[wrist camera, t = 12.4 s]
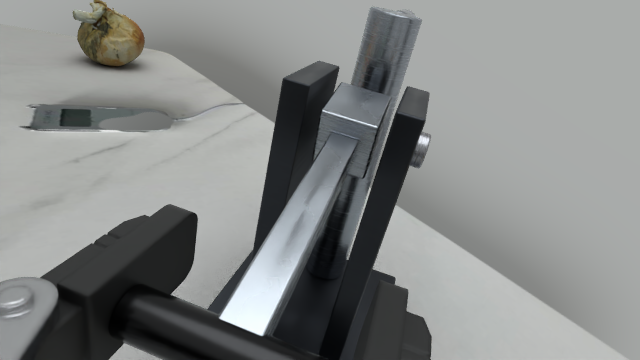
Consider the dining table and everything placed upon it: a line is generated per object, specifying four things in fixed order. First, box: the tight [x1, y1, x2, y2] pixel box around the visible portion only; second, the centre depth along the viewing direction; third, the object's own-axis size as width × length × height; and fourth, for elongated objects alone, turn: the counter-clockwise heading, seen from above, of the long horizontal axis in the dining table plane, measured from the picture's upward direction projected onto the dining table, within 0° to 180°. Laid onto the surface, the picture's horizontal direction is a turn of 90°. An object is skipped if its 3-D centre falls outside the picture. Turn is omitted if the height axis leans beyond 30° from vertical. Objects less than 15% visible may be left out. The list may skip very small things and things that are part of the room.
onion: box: [73, 0, 144, 66], centre depth 53 cm, size 8×8×8 cm
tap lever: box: [108, 82, 392, 360], centre depth 12 cm, size 12×5×2 cm, turn 164°
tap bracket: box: [207, 61, 431, 360], centre depth 18 cm, size 12×9×14 cm
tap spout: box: [306, 7, 422, 280], centre depth 24 cm, size 8×2×15 cm, turn 164°
